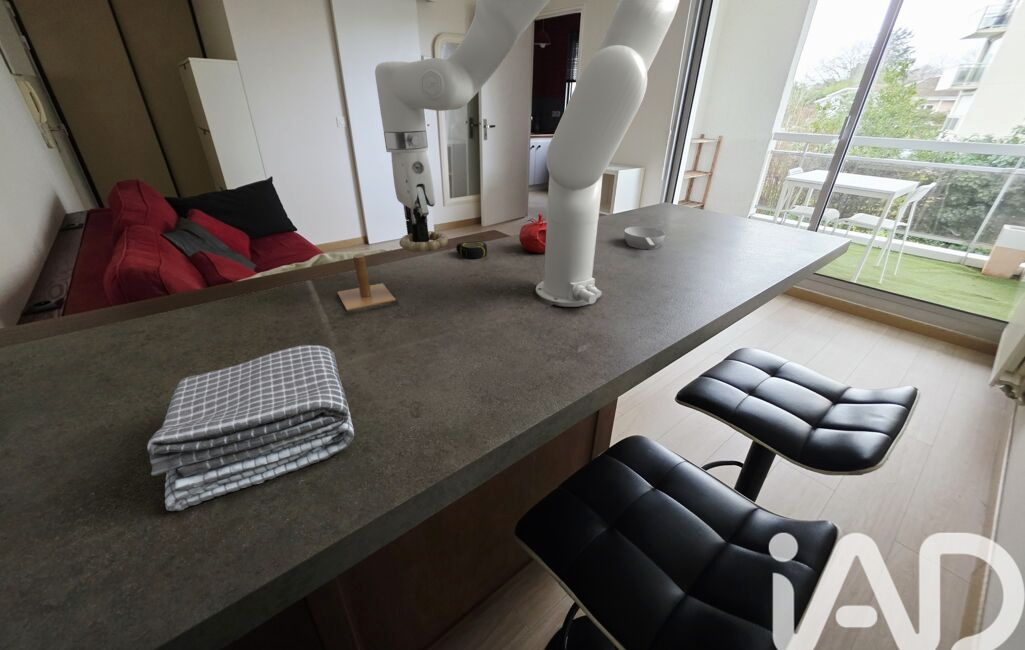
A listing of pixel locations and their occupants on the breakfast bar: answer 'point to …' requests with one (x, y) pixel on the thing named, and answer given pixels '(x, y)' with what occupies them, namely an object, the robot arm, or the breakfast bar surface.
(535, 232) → the pomegranate
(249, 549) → the breakfast bar surface
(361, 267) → the ring toss peg
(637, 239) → the small pan
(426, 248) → the beige beaded ring
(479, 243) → the tape measure
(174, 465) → the towel
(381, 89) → the robot arm
